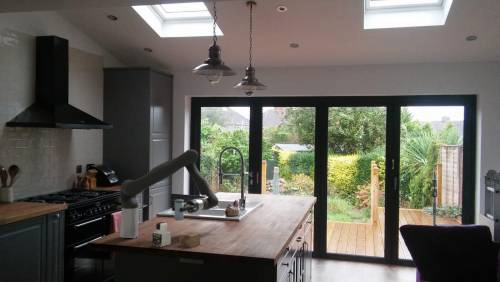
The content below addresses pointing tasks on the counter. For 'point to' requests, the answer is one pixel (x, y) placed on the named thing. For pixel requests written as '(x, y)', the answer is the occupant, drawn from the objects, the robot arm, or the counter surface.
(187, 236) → the walnut block
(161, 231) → the medicine bottle
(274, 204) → the counter surface
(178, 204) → the spice jar
